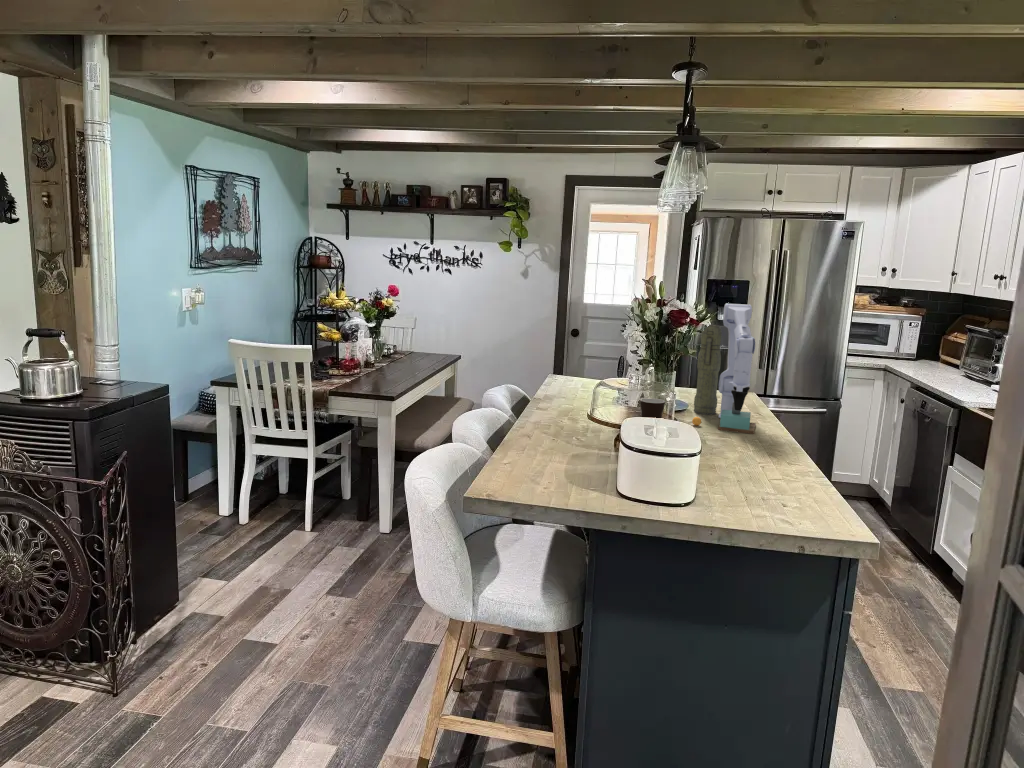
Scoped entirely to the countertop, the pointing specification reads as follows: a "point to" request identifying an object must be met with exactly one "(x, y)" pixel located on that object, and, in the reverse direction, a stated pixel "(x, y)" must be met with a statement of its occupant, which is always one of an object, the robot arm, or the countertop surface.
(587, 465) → the countertop surface
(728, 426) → the cover
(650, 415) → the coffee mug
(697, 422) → the ball
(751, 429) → the walnut board
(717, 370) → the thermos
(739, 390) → the robot arm
